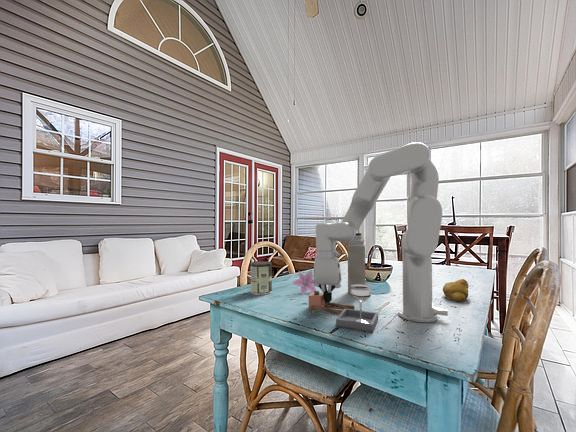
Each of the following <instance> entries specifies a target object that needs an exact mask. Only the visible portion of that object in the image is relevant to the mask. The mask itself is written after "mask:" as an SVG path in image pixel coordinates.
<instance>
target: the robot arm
mask: <svg viewBox="0 0 576 432" xmlns="http://www.w3.org/2000/svg"><path fill="white" fill-rule="evenodd" d="M430 152H431V151H430V149H429V147H428V146H427V145H426V144H424V143H423V142H417V141H415V142H411V143H407V144H405V145H401V146H399V147H396V148H394V149H392V150H389V151H386V152H383V153H381V154H378V155H376V156H374V157H373V158H371V160H370V161H369V163H368V168H367V170H366V172H365V174H364V176H363V177H362V179H361V180H360V183H359V184H358V185H357V188H356V189H355V191H354V193H353V196H352V198H351V201H350V204H349V207H348V209H347V211H346V212H345V214H344V216H343V218H342V219H341V222H336V223H334V222H320V223H317V224H316V225H315V243H316V244H315V246H316V247H315V249H316V250H315V252H316V257H315V259H314V261H313V262H314V263H313V279H314V286H315V287H317V288H319V289H320V290H321V293H323V299H324V300H325V303H329V302H332V300H333V295H332V294H333V291H334V290H335V289H339V288H342V284H341V282H342V272H341V271H342V269H341V264H340V260H339V258H338V256H340V254H341V253H340V251H337V249H336V248H337V246H336V244H337V243H336V242H338V243H339V242H341V243H349V241H351V240H352V239H353V238H354V236H355V235H356V233H358V231H359V229H360V228H361V226H362V224H363V222H364V221H365V220H366V217H367V216H368V214H369V213H370V211H371V210H372V209H373V208H374V206H375V204H376V202H377V201H378V199H379V198H380V196H381V194H382V192H383V191H384V189H385V187H386V185H387V183H388V182H389V181H390V178H391V177H394V176H397V175H400V174H403V173H406V172H407V173H408V174H409V175H410V178H411V190H410V196H409V201H408V206H407V210H406V211H407V217H409V218H408V224H407V230H405V232H404V233H403V235H402V236H401V257H402V259H401V260H402V308H400V309H399V310H398V315H399V317H401V318H402V319H404V320H406V321H407V320H408V321H410V322H415V323H433V322H436V321H437V320H438V315H441V316H444V317H448V316H449V315H448V309H444V308H443V307H442V308H441V307H436V306H435V305H434V303H433V260H432V255H433V254H434V253H435V251H436V250H437V247H438V244H439V239H440V232H441V226H442V220H443V207H442V204H441V203H440V201H439V199H438V191H439V183H440V182H439V172H438V169H437V167H436V166H435V164H434V163H433V162H432V161H431V160H430V155H431V153H430Z"/></svg>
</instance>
